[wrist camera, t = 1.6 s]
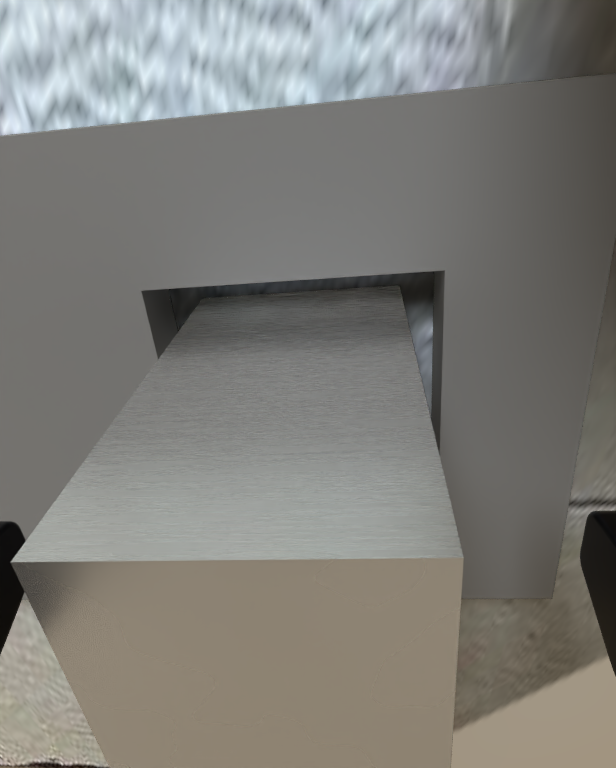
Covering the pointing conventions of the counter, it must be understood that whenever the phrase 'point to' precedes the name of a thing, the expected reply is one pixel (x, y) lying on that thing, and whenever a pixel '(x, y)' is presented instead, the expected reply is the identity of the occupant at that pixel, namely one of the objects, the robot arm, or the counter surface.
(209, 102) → the counter surface
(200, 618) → the peg
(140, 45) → the counter surface
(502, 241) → the rail
